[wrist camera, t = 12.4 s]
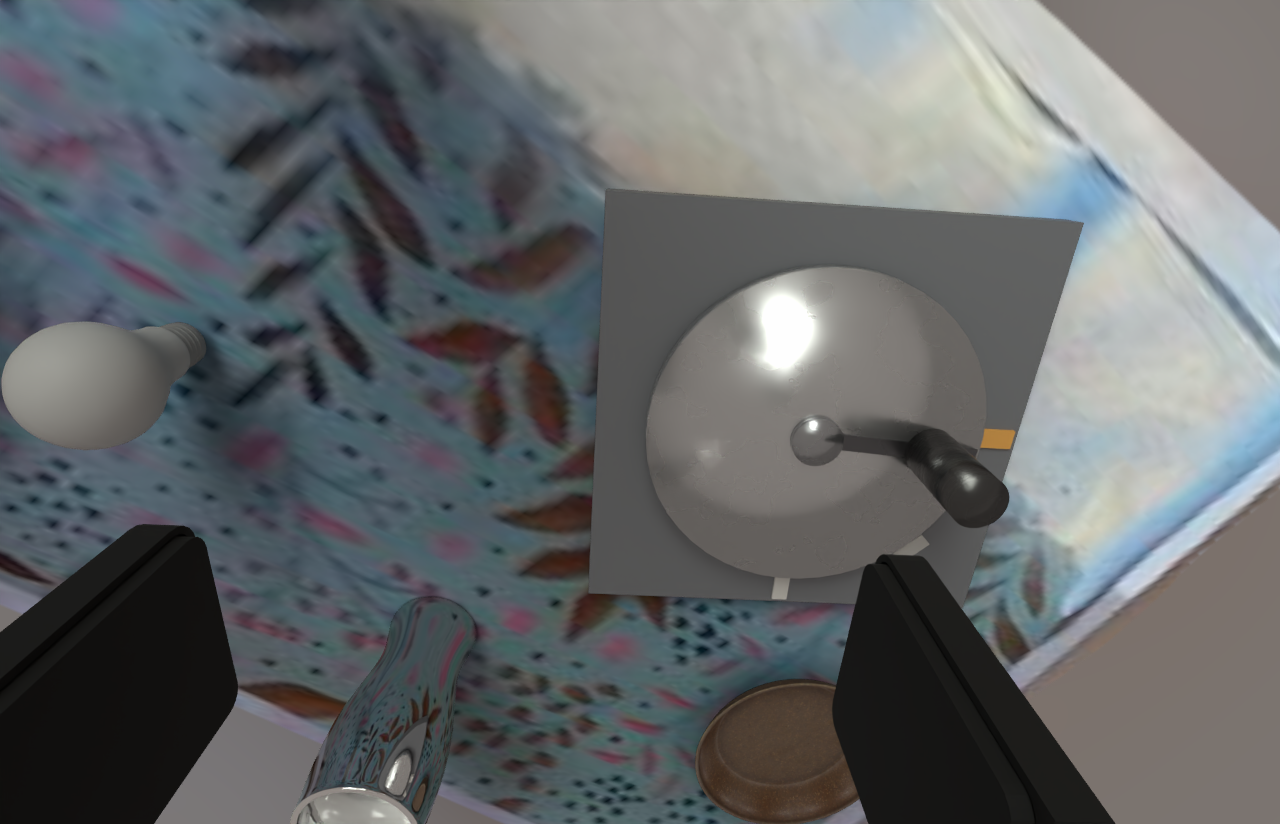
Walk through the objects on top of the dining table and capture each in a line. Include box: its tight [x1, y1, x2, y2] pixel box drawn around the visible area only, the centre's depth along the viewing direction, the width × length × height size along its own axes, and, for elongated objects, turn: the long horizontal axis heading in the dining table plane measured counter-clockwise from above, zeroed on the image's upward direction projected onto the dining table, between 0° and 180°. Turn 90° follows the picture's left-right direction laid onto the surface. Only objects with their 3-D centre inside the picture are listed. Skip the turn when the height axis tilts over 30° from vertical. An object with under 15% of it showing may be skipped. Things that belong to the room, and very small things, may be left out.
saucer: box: [695, 679, 860, 824], centre depth 51 cm, size 15×15×3 cm
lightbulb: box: [2, 322, 206, 450], centre depth 33 cm, size 6×6×11 cm
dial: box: [645, 264, 1009, 579], centre depth 36 cm, size 20×20×7 cm
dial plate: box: [588, 189, 1084, 608], centre depth 41 cm, size 26×26×2 cm
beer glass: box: [290, 597, 476, 824], centre depth 40 cm, size 7×7×15 cm
